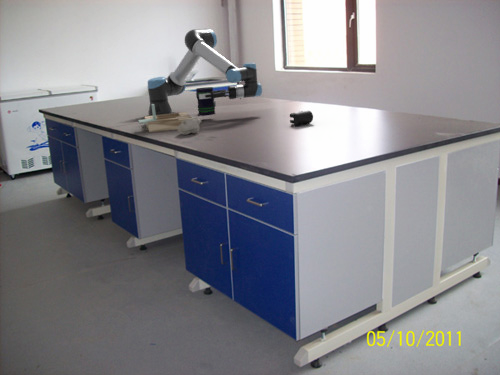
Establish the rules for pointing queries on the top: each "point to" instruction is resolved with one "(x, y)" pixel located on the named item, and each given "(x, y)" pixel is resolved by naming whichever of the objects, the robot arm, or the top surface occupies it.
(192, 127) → the fossil replica
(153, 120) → the cover
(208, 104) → the dark blue barrel
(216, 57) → the robot arm
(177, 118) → the puzzle board
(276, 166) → the top surface
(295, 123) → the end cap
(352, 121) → the top surface
